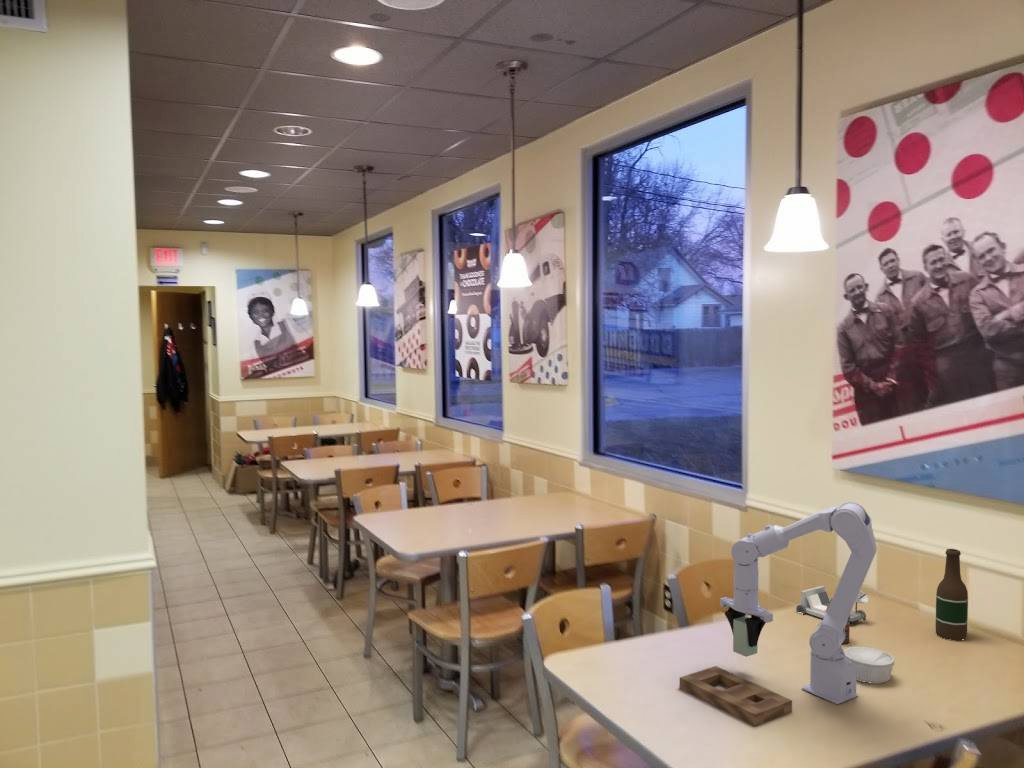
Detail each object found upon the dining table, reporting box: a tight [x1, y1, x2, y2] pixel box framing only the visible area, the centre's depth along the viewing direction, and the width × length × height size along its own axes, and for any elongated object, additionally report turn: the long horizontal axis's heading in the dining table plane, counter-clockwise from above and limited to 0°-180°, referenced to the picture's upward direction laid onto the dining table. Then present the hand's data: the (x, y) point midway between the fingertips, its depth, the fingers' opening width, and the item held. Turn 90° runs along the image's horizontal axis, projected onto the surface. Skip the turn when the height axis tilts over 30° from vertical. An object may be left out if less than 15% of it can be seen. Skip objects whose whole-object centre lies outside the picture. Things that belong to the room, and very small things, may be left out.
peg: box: [732, 615, 758, 657], centre depth 190 cm, size 4×4×8 cm
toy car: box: [796, 585, 869, 622], centre depth 229 cm, size 18×10×12 cm
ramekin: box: [843, 646, 895, 684], centre depth 189 cm, size 11×11×5 cm
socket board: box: [679, 665, 793, 727], centre depth 176 cm, size 22×12×2 cm, turn 33°
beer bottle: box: [935, 548, 969, 641], centre depth 214 cm, size 8×8×24 cm
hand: (745, 642), depth 190 cm, fingers closed on peg, 4 cm apart
